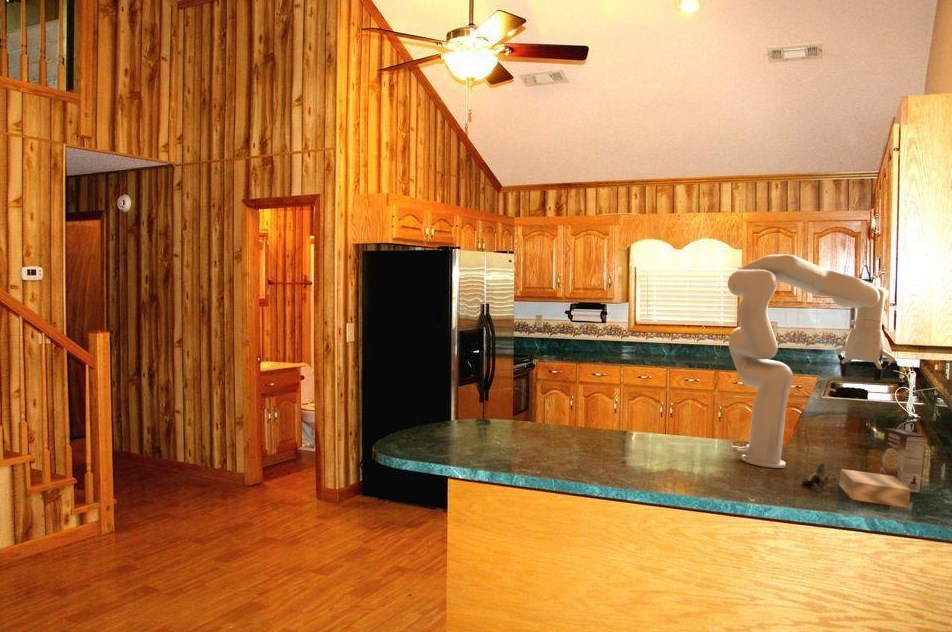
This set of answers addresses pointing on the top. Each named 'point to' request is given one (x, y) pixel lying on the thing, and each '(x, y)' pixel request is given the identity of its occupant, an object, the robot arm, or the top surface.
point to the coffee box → (903, 457)
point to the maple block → (874, 488)
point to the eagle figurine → (818, 478)
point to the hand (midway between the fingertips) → (861, 378)
